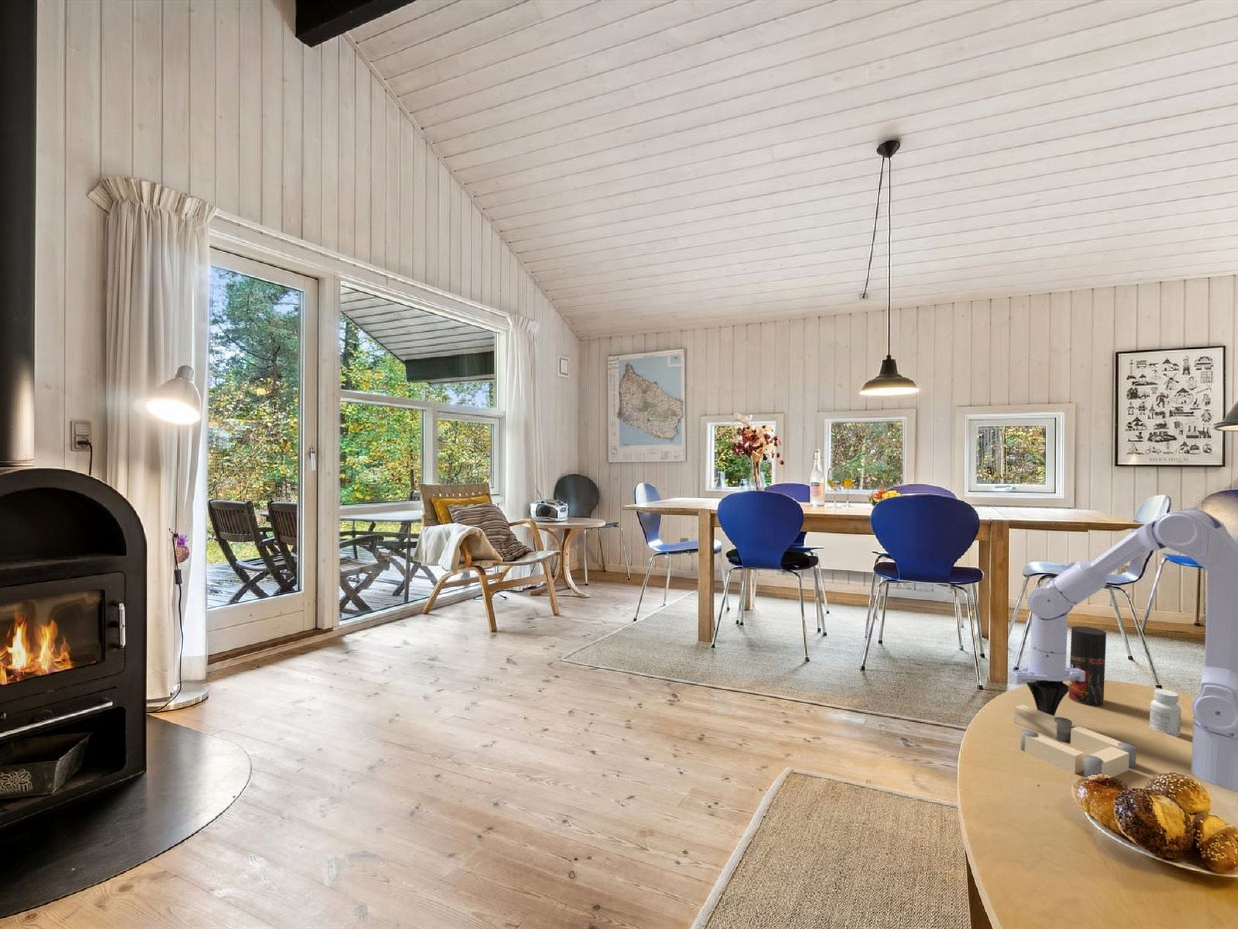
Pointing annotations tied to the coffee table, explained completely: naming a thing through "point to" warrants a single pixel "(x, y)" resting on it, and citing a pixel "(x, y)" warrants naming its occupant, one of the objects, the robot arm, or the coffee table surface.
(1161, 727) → the pill bottle
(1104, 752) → the hinged beam frame
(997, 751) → the coffee table surface
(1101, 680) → the deodorant
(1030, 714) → the beige long rectangular block
